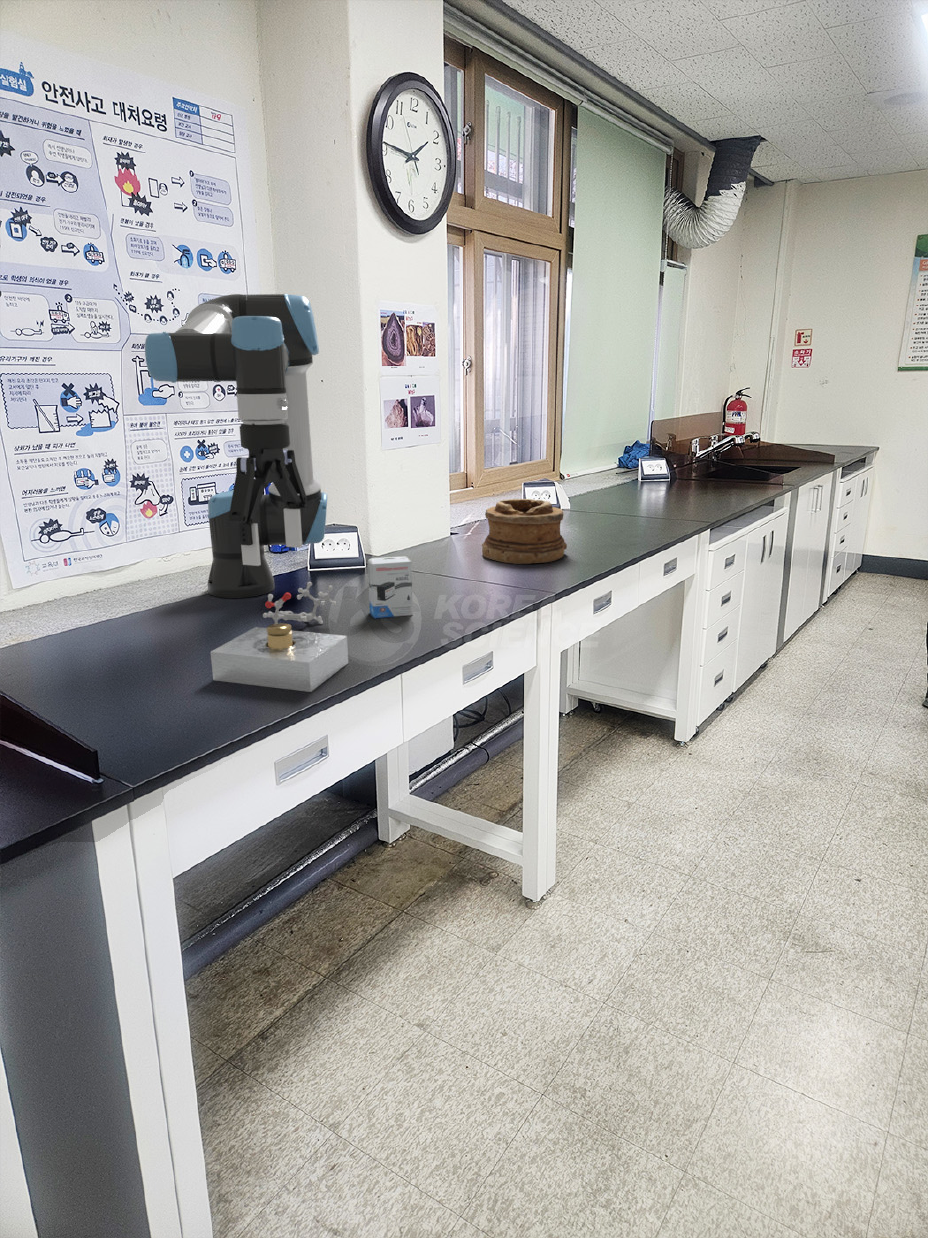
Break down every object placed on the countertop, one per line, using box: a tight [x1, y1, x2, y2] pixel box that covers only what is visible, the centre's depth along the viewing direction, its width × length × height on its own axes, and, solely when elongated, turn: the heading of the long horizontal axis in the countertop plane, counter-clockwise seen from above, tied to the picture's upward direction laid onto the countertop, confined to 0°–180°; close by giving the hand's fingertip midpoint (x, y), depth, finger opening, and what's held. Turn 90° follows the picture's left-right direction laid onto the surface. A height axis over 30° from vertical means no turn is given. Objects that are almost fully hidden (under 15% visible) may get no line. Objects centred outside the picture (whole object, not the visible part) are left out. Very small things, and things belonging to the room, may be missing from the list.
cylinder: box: [266, 622, 293, 649], centre depth 136 cm, size 4×4×8 cm
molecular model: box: [262, 581, 337, 625], centre depth 158 cm, size 19×10×10 cm, turn 148°
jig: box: [210, 626, 349, 693], centre depth 136 cm, size 18×14×5 cm
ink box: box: [367, 555, 414, 619], centre depth 168 cm, size 8×5×12 cm, turn 105°
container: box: [481, 498, 568, 565], centre depth 221 cm, size 22×24×15 cm
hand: (274, 555), depth 131 cm, fingers open, 13 cm apart
